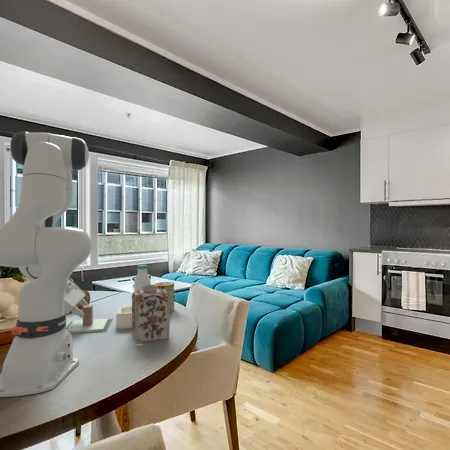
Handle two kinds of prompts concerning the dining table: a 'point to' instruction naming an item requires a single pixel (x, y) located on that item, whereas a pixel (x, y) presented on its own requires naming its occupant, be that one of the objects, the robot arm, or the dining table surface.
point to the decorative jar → (150, 314)
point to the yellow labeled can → (170, 290)
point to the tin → (87, 298)
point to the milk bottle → (141, 278)
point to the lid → (87, 322)
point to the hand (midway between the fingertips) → (86, 312)
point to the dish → (124, 317)
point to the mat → (96, 331)
